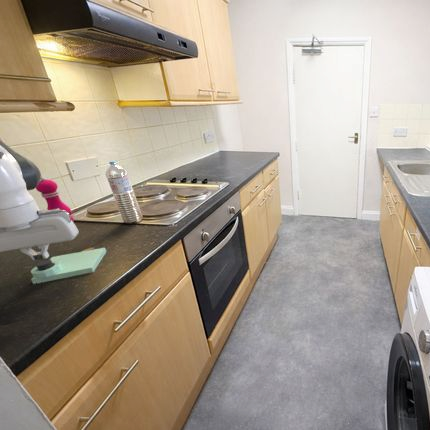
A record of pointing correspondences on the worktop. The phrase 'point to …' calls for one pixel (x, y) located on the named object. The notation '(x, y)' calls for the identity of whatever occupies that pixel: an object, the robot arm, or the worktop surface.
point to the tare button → (44, 265)
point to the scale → (69, 265)
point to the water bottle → (123, 194)
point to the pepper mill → (52, 195)
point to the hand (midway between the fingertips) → (41, 258)
